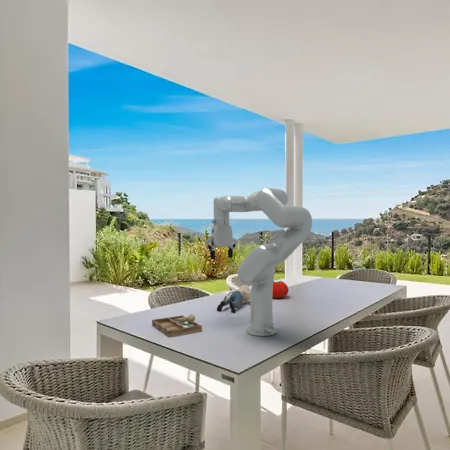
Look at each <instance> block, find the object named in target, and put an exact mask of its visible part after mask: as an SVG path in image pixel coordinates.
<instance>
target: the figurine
mask: <svg viewBox="0 0 450 450" xmlns="http://www.w3.org/2000/svg"><path fill="white" fill-rule="evenodd" d="M184 317H185V318H182V317H178V318H176V319H175V320H173V321H179V322H183V325H185V324H184V322H187V321H188V323H189V324H190V322H193V321H194V322H196V316H195V315H194V314H191V313H190V314H189V315H187V316H184Z"/></svg>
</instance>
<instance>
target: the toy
mask: <svg viewBox="0 0 450 450" xmlns="http://www.w3.org/2000/svg"><path fill="white" fill-rule="evenodd" d="M250 296H251V287H249V285H247V284H245V285H241V286H240V287H239V288H238V289H236V290H230V291H229V292H228V294H226V295H225V296H224V298H223V300H222V301H220V303H219V304H217V306H216V311H217V312H221V311H222V310H223V307H226V306H228V305H229V308H230V311H231V312H230V313H232V314H235V313H236V307H239V305H244V304H246V303H247V302H249V301H250Z"/></svg>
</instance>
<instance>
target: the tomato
mask: <svg viewBox="0 0 450 450" xmlns="http://www.w3.org/2000/svg"><path fill="white" fill-rule="evenodd" d="M288 294H289V287H288V285H287V283H285V282H284V281H283V280H279V281H274V280H273V296H272V299H282V298H285V297H286V296H287V295H288Z"/></svg>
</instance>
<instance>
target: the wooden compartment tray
mask: <svg viewBox="0 0 450 450" xmlns="http://www.w3.org/2000/svg"><path fill="white" fill-rule="evenodd" d="M178 317H182V318H185V317H186V316H184V315H179V316H177V315H176V316H169V317H163V318H162V317H161V318H156V319H152V320H151V325H152V327H154V328H155V329H156V330H158V331H159V332H161V333H163V335H165V336H166V337H168V338H172V337H179V336H183V335H189V334H194V333H201V332H202V331H203V325H201V324H199V323H198V322H196V321H193V322H190V324H189V323H188V321H187V322H184V324H185V325H183V322H179V321H173V320H175V319H176V318H178Z"/></svg>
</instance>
